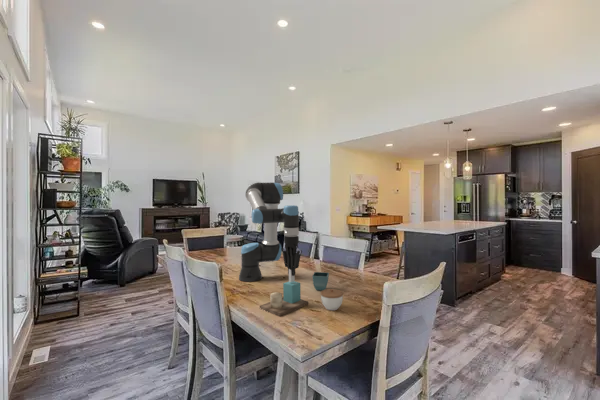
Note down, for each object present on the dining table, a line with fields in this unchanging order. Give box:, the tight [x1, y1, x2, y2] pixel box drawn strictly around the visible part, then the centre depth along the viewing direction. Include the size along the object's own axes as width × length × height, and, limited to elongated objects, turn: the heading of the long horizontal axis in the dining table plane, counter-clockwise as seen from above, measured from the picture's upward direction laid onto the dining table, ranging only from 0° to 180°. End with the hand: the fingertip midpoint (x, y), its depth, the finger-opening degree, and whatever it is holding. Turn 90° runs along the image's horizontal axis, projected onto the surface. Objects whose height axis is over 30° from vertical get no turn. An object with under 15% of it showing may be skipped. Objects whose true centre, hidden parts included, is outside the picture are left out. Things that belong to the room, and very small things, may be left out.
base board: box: [259, 296, 309, 317], centre depth 146 cm, size 14×20×2 cm
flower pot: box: [311, 271, 330, 291], centre depth 172 cm, size 9×9×9 cm
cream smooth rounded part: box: [269, 292, 283, 309], centre depth 141 cm, size 6×6×8 cm
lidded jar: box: [320, 288, 344, 311], centre depth 143 cm, size 11×11×9 cm
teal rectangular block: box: [282, 281, 302, 304], centre depth 150 cm, size 6×6×9 cm
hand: (291, 281), depth 150 cm, fingers closed
